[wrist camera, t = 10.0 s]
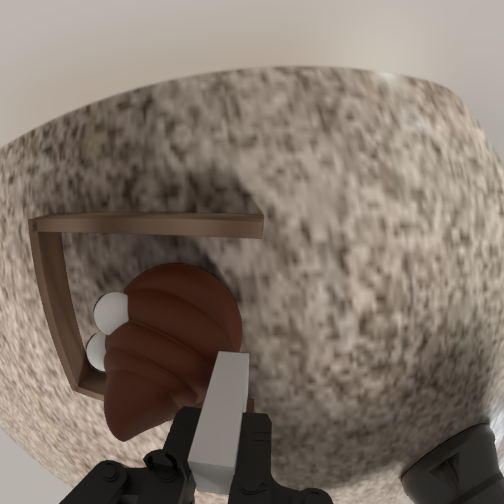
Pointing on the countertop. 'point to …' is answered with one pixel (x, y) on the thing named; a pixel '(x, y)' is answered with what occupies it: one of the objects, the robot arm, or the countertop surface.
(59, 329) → the walnut corral
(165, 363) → the poop emoji
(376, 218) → the countertop surface
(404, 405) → the countertop surface
